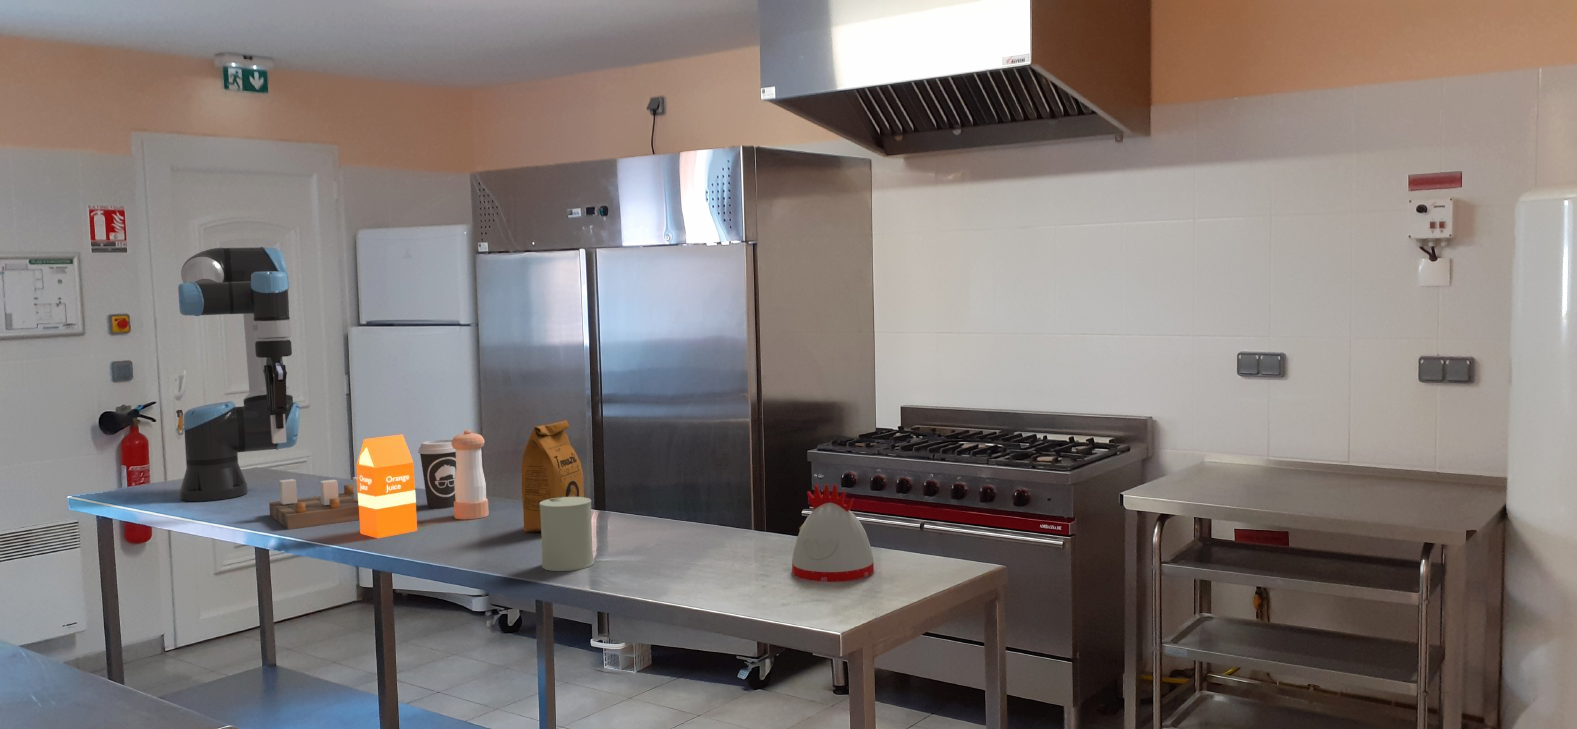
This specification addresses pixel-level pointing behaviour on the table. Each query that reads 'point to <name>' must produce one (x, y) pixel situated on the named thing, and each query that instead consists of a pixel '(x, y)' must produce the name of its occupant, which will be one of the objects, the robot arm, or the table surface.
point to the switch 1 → (288, 491)
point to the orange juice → (386, 487)
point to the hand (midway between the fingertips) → (279, 442)
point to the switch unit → (316, 510)
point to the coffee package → (548, 471)
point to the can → (566, 533)
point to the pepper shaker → (469, 477)
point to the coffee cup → (439, 472)
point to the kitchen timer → (832, 541)
